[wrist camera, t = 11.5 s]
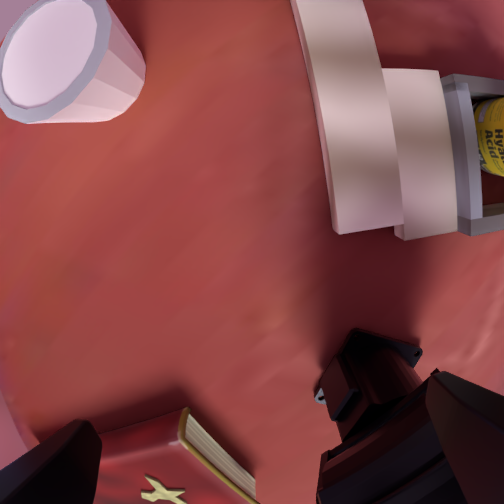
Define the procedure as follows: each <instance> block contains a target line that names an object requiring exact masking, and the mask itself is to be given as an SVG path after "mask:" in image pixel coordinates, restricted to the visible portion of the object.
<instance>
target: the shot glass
mask: <svg viewBox="0 0 504 504" xmlns="http://www.w3.org/2000/svg"><path fill="white" fill-rule="evenodd" d="M145 71H146V65H145V62H144V59H143V56H142V54H141V51H140V50H139V48H138V47H137V45H136V44H135V42H134V41H133V40H132V38H131V37H130V35H129V34H128V32H127V31H126V29H125V28H124V26H123V25H122V23H121V22H120V20H119V19H118V18H117V16H116V15H115V13H114V12H113V10H112V9H111V7H110V6H109V4H108V3H107V2H106V0H39V1H37V2H36V3H35V4H33V5H32V6H31V7H29V8H28V9H27V10H25V12H24V13H23V14H22V15H21V17H20V18H19V19H18V20H17V21H16V22H15V24H14V25H13V26H12V28H11V29H10V30H9V31H8V33H7V35H6V37H5V39H4V42H3V44H2V46H1V48H0V107H1V109H2V110H3V111H4V113H5V114H6V116H7V117H8V118H11V119H14V120H17V121H19V122H22V123H25V124H31V123H57V122H100V121H108V120H111V119H113V118H115V117H116V116H118V115H120V114H122V113H124V112H125V111H126V110H127V109H128V108H129V107H130V106H131V105H132V104H133V102H134V101H135V100H136V99H137V98H138V95H139V93H140V91H141V89H142V87H143V85H144V83H145Z"/></svg>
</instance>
